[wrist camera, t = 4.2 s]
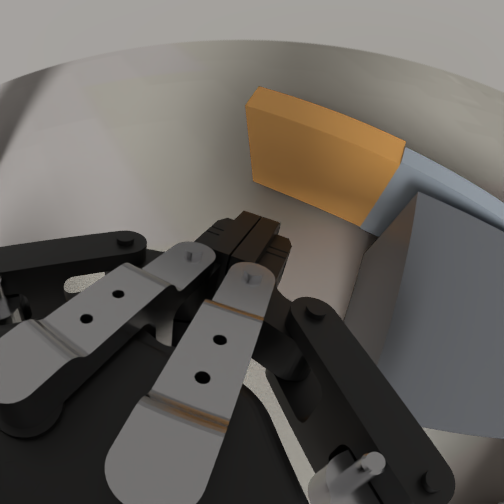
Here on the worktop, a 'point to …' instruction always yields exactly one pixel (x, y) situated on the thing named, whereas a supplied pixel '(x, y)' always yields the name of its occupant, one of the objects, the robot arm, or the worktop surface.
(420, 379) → the camera body
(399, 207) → the grey and orange bar
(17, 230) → the worktop surface
